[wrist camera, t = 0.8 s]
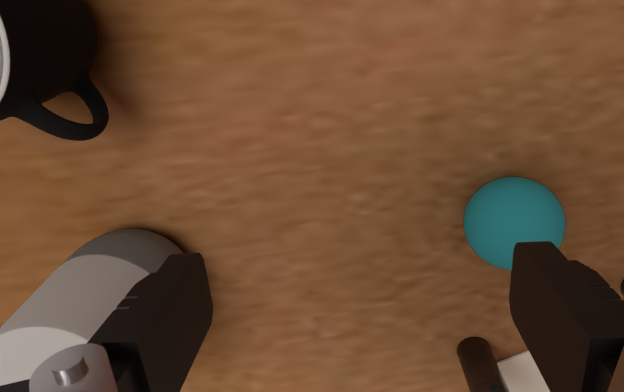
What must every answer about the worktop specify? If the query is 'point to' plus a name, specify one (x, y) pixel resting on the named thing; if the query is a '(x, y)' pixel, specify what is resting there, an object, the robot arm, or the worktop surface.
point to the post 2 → (622, 287)
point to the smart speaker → (78, 298)
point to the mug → (48, 64)
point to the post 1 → (480, 366)
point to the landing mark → (522, 374)
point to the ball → (511, 218)
